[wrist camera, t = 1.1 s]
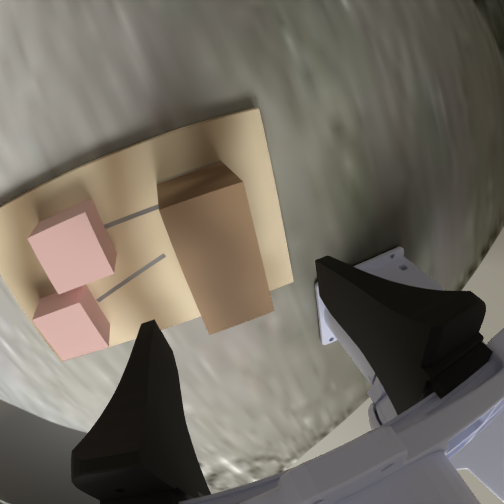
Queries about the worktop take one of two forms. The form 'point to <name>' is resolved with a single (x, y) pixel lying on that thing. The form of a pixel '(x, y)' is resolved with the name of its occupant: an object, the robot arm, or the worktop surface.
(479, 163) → the worktop surface
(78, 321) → the eraser crumb
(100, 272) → the eraser crumb
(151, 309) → the board
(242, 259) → the block
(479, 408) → the robot arm
